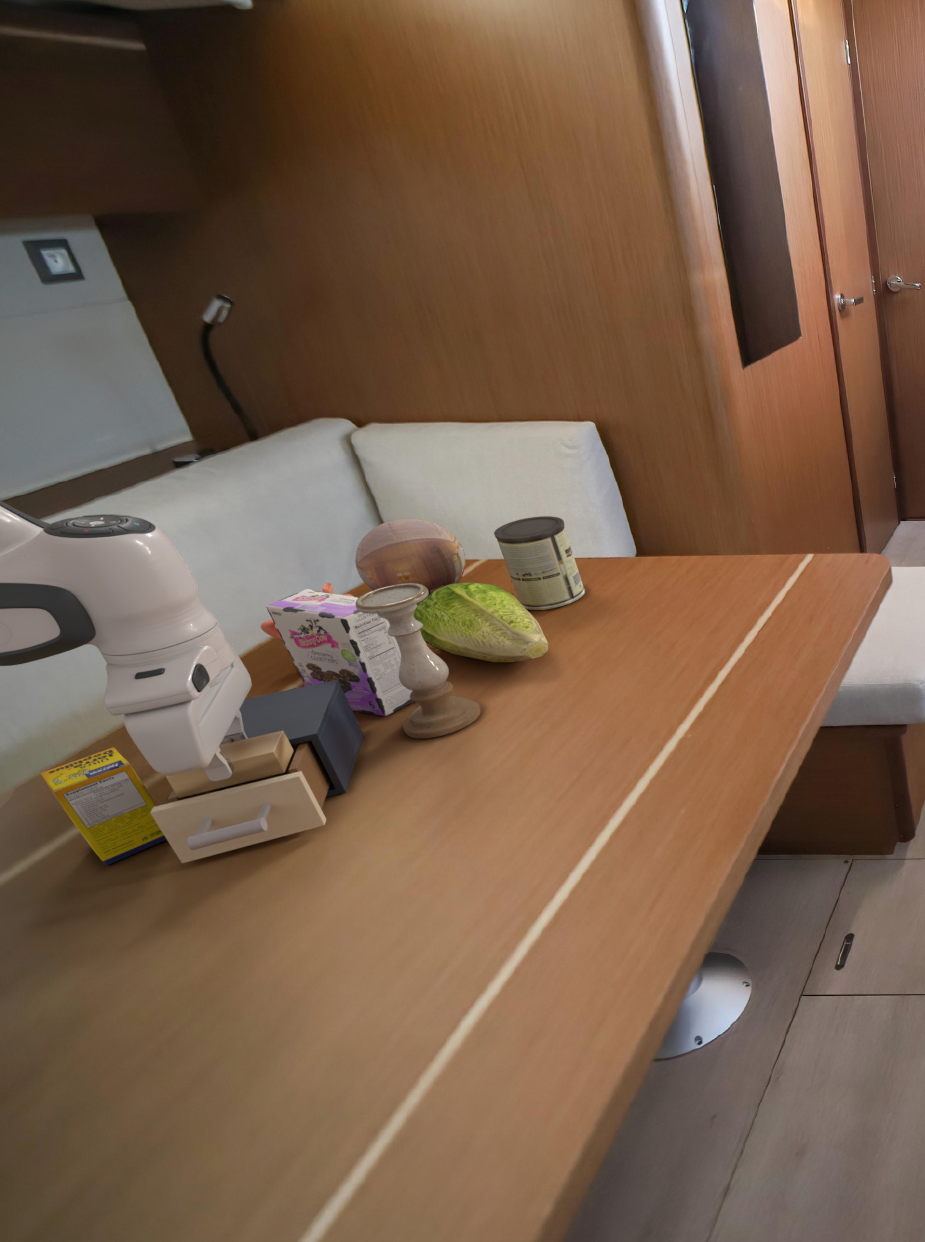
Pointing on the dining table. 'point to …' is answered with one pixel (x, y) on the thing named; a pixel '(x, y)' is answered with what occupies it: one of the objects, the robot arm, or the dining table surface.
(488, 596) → the lettuce
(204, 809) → the drawer
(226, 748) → the wooden rectangular block
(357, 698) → the candy box
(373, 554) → the ornament
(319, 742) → the cabinet
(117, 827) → the supplement box
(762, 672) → the dining table surface
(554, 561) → the coffee can
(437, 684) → the candle holder
